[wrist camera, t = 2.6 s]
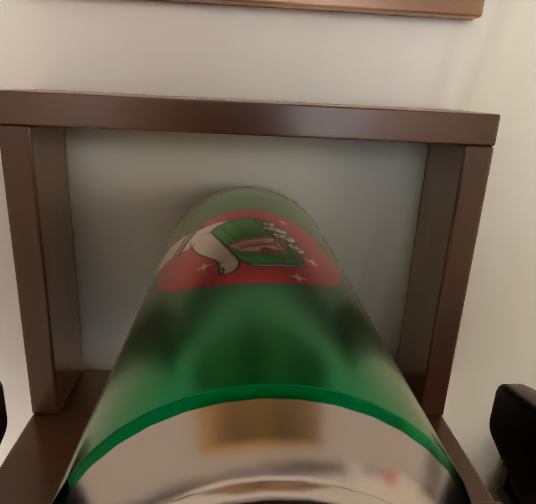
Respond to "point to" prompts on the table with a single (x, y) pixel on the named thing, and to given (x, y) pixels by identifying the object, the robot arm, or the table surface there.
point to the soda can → (256, 379)
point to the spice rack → (238, 123)
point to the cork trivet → (374, 6)
